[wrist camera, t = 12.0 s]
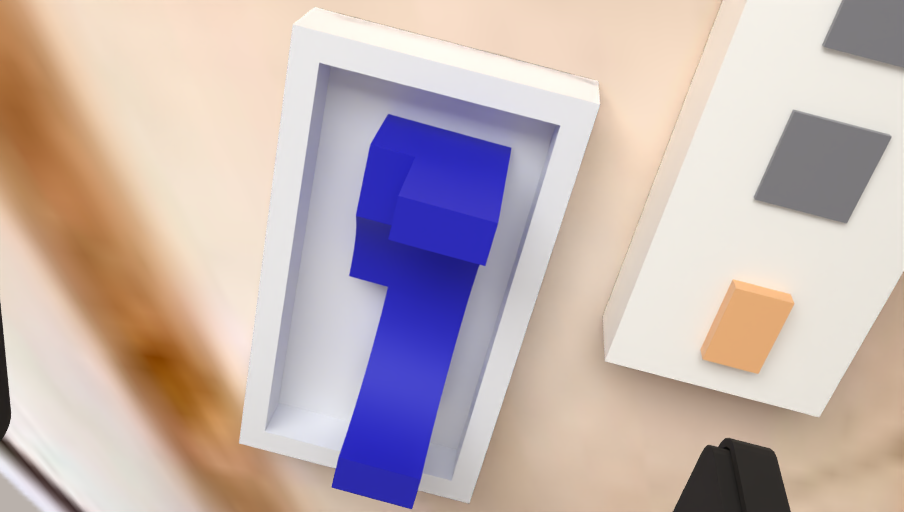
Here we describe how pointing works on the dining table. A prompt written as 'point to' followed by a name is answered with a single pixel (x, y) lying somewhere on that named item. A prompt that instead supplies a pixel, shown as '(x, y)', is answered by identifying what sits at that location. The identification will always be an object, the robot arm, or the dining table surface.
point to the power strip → (772, 206)
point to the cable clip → (415, 291)
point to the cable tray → (334, 229)
